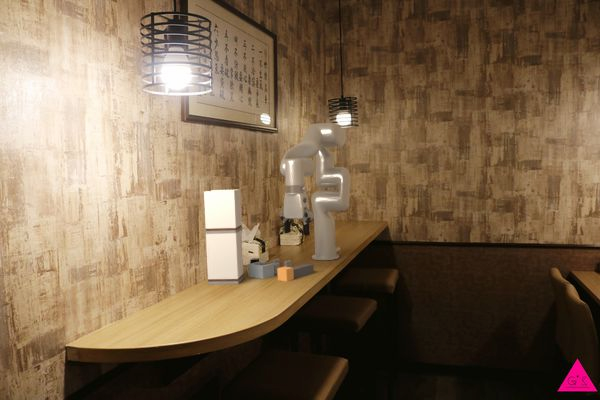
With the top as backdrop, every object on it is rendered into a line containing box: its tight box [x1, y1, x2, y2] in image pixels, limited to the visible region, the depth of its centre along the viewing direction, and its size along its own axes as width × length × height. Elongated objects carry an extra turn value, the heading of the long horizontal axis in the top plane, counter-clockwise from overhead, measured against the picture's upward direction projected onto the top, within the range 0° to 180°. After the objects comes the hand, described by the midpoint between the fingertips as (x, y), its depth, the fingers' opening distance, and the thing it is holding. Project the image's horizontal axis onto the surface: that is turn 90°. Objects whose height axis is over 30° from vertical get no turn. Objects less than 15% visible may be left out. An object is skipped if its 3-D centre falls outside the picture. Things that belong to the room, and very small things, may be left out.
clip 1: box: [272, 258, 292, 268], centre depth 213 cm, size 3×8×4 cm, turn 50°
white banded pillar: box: [203, 188, 245, 286], centre depth 196 cm, size 11×11×35 cm
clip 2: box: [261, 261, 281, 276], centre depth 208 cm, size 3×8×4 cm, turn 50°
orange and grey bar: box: [277, 263, 315, 282], centre depth 201 cm, size 17×5×5 cm, turn 140°
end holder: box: [247, 261, 275, 280], centre depth 204 cm, size 6×8×5 cm
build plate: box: [249, 257, 260, 264], centre depth 221 cm, size 12×7×5 cm, turn 168°
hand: (296, 233), depth 202 cm, fingers open, 9 cm apart
